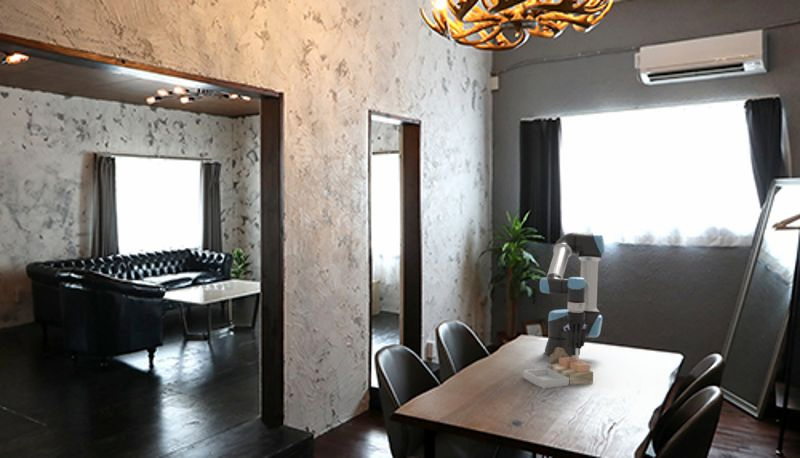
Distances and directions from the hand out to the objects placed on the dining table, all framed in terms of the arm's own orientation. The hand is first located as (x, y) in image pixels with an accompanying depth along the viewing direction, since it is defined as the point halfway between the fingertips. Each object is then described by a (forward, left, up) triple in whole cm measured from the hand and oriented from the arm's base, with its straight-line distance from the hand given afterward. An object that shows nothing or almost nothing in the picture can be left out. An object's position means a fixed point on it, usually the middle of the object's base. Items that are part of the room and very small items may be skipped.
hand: (575, 361), depth 265 cm
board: (+4, -5, -6) cm, 9 cm away
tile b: (+8, -3, -1) cm, 9 cm away
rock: (-12, -2, -7) cm, 14 cm away
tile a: (0, -4, -1) cm, 4 cm away
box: (+4, -18, -6) cm, 20 cm away
